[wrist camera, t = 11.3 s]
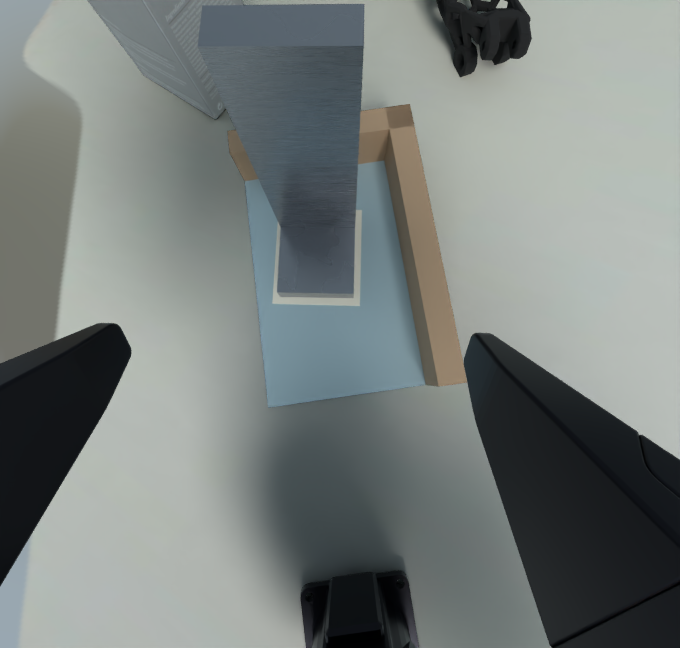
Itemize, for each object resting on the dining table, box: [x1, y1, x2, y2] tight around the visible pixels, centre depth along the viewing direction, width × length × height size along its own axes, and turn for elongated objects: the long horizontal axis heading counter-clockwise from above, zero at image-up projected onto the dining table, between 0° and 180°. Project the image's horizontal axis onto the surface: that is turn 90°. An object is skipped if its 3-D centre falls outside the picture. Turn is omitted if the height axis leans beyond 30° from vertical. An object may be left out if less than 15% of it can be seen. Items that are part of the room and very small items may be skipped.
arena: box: [228, 104, 467, 408], centre depth 21 cm, size 18×12×4 cm, turn 8°
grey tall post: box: [198, 4, 364, 298], centre depth 16 cm, size 6×5×13 cm
